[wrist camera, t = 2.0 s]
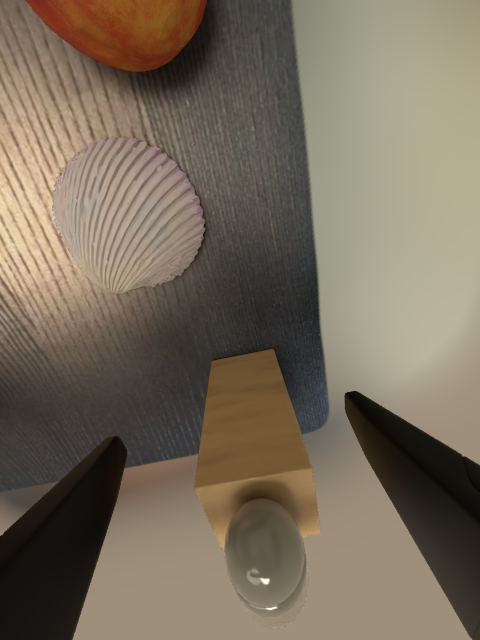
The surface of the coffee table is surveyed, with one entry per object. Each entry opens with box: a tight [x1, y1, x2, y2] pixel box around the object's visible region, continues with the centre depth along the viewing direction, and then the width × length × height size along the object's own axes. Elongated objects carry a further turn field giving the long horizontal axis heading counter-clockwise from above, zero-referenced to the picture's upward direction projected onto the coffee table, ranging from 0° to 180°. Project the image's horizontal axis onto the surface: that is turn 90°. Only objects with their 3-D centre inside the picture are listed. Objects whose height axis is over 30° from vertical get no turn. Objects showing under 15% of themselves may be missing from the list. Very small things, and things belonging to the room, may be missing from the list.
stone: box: [224, 497, 309, 628], centre depth 11 cm, size 6×4×4 cm, turn 12°
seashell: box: [52, 137, 206, 294], centre depth 16 cm, size 10×6×10 cm
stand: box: [194, 349, 321, 549], centre depth 18 cm, size 6×6×12 cm
